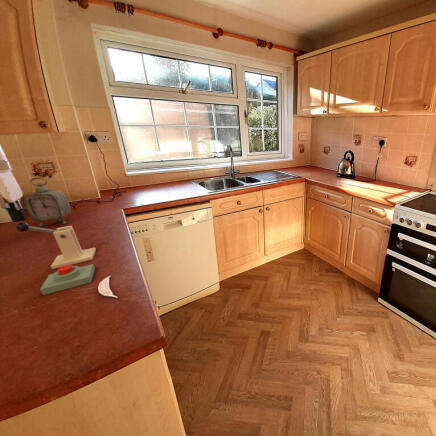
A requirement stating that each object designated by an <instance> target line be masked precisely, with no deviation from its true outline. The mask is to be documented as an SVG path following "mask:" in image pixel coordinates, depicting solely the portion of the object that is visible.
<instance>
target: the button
mask: <svg viewBox="0 0 436 436" xmlns="http://www.w3.org/2000/svg"><path fill="white" fill-rule="evenodd" d="M72 266H73V264H71V265H65V266H62V267H59V268H57V271H58V272H59V274H60V275H65V274H68V273H70V272H72V271H73V270H74V269H73V267H72Z"/></svg>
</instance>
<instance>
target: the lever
mask: <svg viewBox="0 0 436 436" xmlns="http://www.w3.org/2000/svg"><path fill="white" fill-rule="evenodd" d="M15 229H16V230H17V231H18V232H27V231H33V232H39V233H40V232H41V233H47V234H53V232H57V230H56V229H50V228H45V227H38V226H31V225H30V224H29V223H27V222H25V221H20V222H19V223H18V222H17V224H16V226H15ZM62 230H65V229H61V230H60V231H62ZM70 232H71V230H70Z"/></svg>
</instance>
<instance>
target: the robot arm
mask: <svg viewBox="0 0 436 436" xmlns="http://www.w3.org/2000/svg"><path fill="white" fill-rule="evenodd" d="M12 171H13V167H12V165H11V163H10V161H9V160H8V157H7V154H6V153H5V151H4V149H3V147H2V144H0V208H1V209H2V210H3V209H5V211H6V212H7V213H8V215H9V218H10V219H11V221H12V222H13V223H18V222H19V223H20V222H25V221H27V220H28V216H27V214H26V212H25V211H24V208H23V205H22V203H21V199H22V198H23V197H24V196H23V194H24V193H23V191H22V189H21V187H20V185H19V182H18V181H17V179H16V177H15V176H14V174H13V172H12Z"/></svg>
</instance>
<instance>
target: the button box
mask: <svg viewBox="0 0 436 436" xmlns="http://www.w3.org/2000/svg"><path fill="white" fill-rule="evenodd" d="M72 267H73V269H74V270H73V271H72V272H70V273H68V274H65V275H60V274H59V272H58V270H57V271H55V272H54V273H51V274H48V275H47V277H46V279H45V281H44V282H43V283H42V285H41V287H40V288H39V291H40V293H41V294H42V296H45V295H49V294H52V293H57V292H60V291H64V290H67V289H71V288H75V287H78V286H82V285H86V284H89V283H92V280H93V277H94V274H95V270H96V268H95V265H94V264H93V263H92V264H88V265H84V266H78V265H72Z"/></svg>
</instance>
